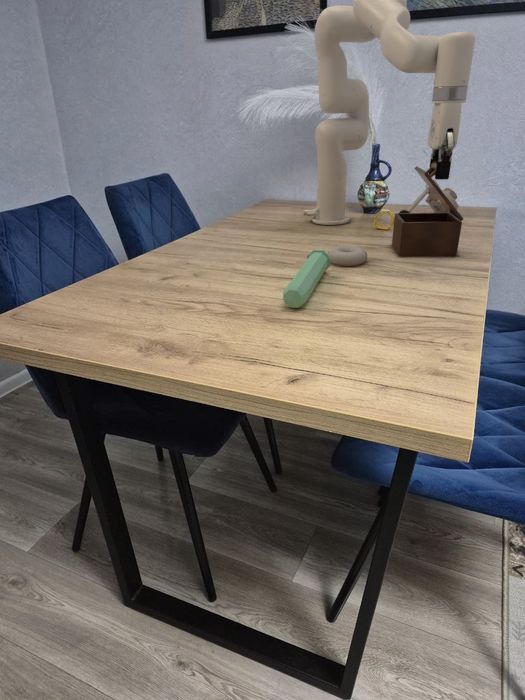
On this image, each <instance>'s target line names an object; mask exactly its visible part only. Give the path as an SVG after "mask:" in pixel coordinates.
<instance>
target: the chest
mask: <svg viewBox="0 0 525 700" xmlns="http://www.w3.org/2000/svg"><path fill="white" fill-rule="evenodd" d="M393 217H394V223H393V226H392V227H393V228H392V237H391V238H392V240H391V246H392V248H393V250H394V251H395V252H396V254H397V256H398V257H399V258H421V257H422V258H424V257H425V258H428V257H429V258H431V257H432V258H434V257H436V258H437V257H438V258H439V257H457V256H458V250H459V244H460V237H461V231H462V227H463V226H462V225H463V221H460V220H459V219H458V218H456V217H455V216H454V215H452V214H451V213H450V212H446V213H433V212H410V213H399V212H396V213H394V216H393Z"/></svg>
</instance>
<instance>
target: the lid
mask: <svg viewBox="0 0 525 700" xmlns="http://www.w3.org/2000/svg"><path fill="white" fill-rule="evenodd" d="M436 166H437V162H436V161H435V162H433V163H432V164H431V167H430V166H429V168H428V169H427V170H424V169H422V168H421V167H419V166H418V165H416V166H415V167H414V170H415V172H417V174H418V175H419V176H420V178H421V179H422V180H423V182H424V183H425V185H426V184H427V185H428V186H429V188H430V189H431V190H432V191H433V193H434V194H435V195H436V196H437V198H438V199H439V200H440V201H441V203H442V204H443V205H444V206H445V208H446V209H447V210H448V212H450V213H451V214H452V215H454V216H455V217H456V218H457V219H459V220H460V221H461V222H463V221H464V217H463V216H462V215H461V214H460V212H459V211H458V209H457V210H456V208H455V207H454V206H453V205H452V203H451V202H450V201H449V199H448V198H447V197H446V196H445V194H444V193H443V192H442V191H441V189H442V188H441V187H440V188H441V189H440V188H439V187H438V185H439V184H438V185H437V184H436V183H435V182H434V180H435V179H434V178H433V177H435V173H436ZM433 169H434V170H435V171H433V172H432V173H431V174H430V175H429V172H431V171H432V170H433Z"/></svg>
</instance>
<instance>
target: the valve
mask: <svg viewBox="0 0 525 700" xmlns="http://www.w3.org/2000/svg"><path fill="white" fill-rule="evenodd" d="M433 180H434V182H435V183H436V184H437V185H438V187H439V188H440V189H441V191H442V192H443V193H444V194H445V196H446V197H447V198H448V199H449V201H450V202H451V203H452V205H453V206H454V207H455V208H456V210H457V211H458V209H459V208H460V205H459V204H458V202H457V199H458V194H457V193H456V192H455V191H454V190H453V189H452V188H450V187H445V188H444V189H442V188H441V186H440V185H439V183H438V181H437V179H433ZM426 196H427V197H426ZM425 197H426V199H425ZM423 199H425V200H424V201H425V203H426V204H428V206H429V207H430V209H431V210H433V212H432V213H446V212H448V210H447V209H446V208H445V206H444V205H443V204H442V203H441V201H440V200H439V199H438V198H437V196H436V195H435V194H434V193H433V191H432V190H431V189H430V188H429V186H428V185H427V184H426V183H425V189H424V190H423V192H421V194H419V196H417V198H416V199H415V200H414V201H413V202H412V203H411V205H410V206H409V207H408V208H407V209H402V210H400V211H399V212H398V213H412V211H414V209H415V208H416V207H417V206H418V205H419V204H420V203H421V202H422V200H423Z"/></svg>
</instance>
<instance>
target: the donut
mask: <svg viewBox="0 0 525 700" xmlns="http://www.w3.org/2000/svg"><path fill="white" fill-rule="evenodd" d="M327 254H328V255H329V256H330V263H332V264H334V265H337V266H341V267H342V266H343V267H353V266H359V265H361V264H363V263H364V262H366V260H367V259H368V252H367V250H366V249H365V248H364V247H361V246H359V245H354V244H353V245H352V244H341V245H336V246H333V247H332V248H330V249H329V251H328V252H327Z"/></svg>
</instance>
